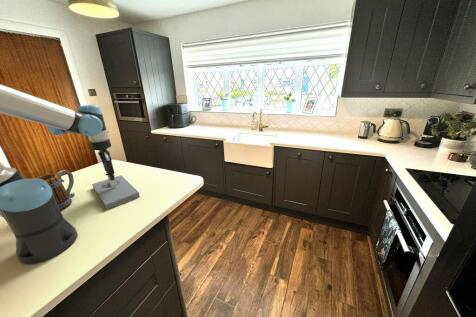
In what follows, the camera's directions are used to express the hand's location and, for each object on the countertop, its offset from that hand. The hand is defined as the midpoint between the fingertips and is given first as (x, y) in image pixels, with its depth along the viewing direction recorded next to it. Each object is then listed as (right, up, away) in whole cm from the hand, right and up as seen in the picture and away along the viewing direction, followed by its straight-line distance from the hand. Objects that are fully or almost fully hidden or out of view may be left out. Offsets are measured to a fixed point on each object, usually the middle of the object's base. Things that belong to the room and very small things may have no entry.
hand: (113, 185), depth 99 cm
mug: (-19, -8, -7) cm, 22 cm away
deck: (0, -4, +1) cm, 4 cm away
